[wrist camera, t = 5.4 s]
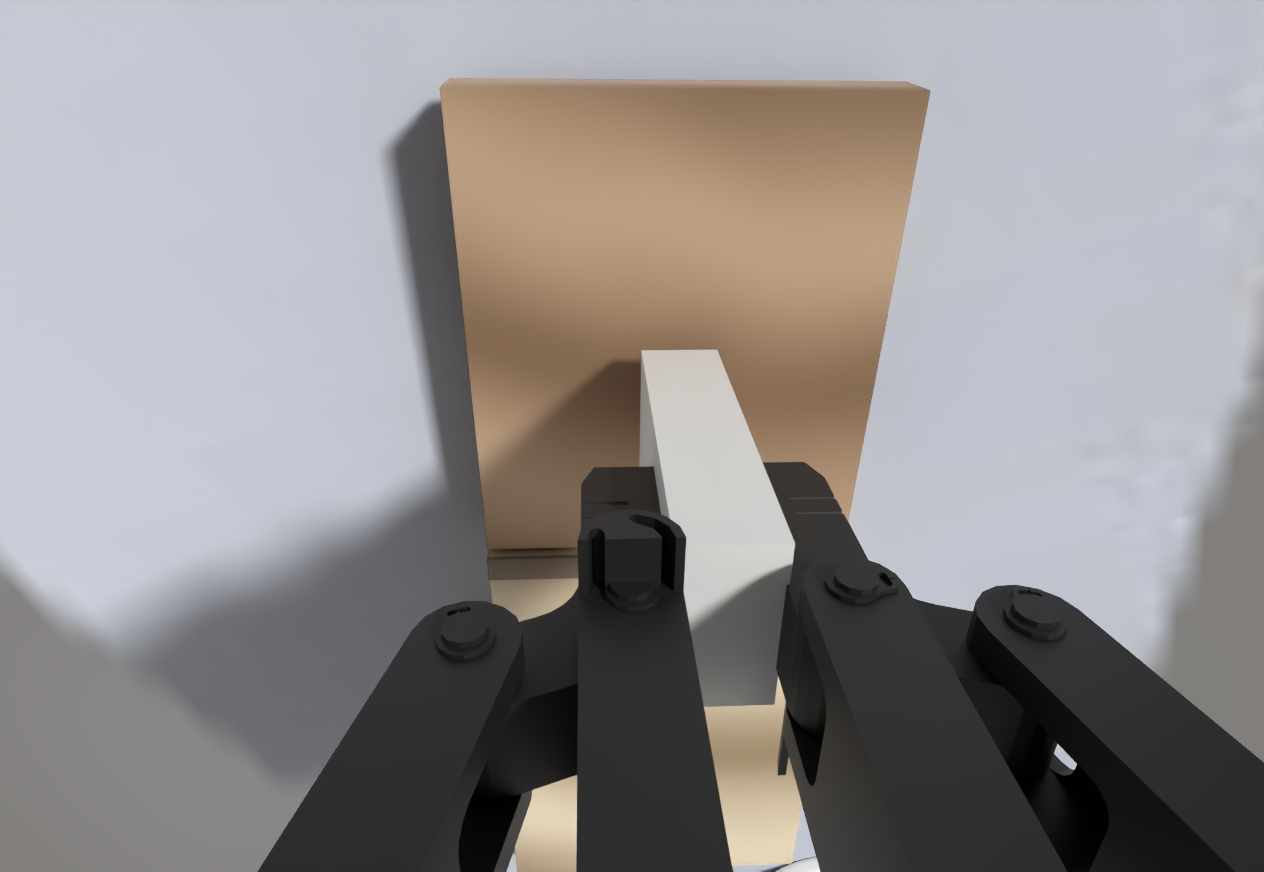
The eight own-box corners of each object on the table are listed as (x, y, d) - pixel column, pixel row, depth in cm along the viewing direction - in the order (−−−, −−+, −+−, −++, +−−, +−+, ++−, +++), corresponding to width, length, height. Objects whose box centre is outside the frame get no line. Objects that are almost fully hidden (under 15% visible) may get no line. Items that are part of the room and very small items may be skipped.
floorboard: (493, 523, 20) (487, 559, 18) (828, 516, 20) (845, 551, 19) (521, 833, 25) (517, 878, 24) (782, 823, 26) (792, 866, 24)
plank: (450, 78, 14) (439, 87, 13) (906, 81, 15) (930, 90, 14) (492, 518, 20) (487, 549, 19) (830, 511, 20) (844, 541, 19)
